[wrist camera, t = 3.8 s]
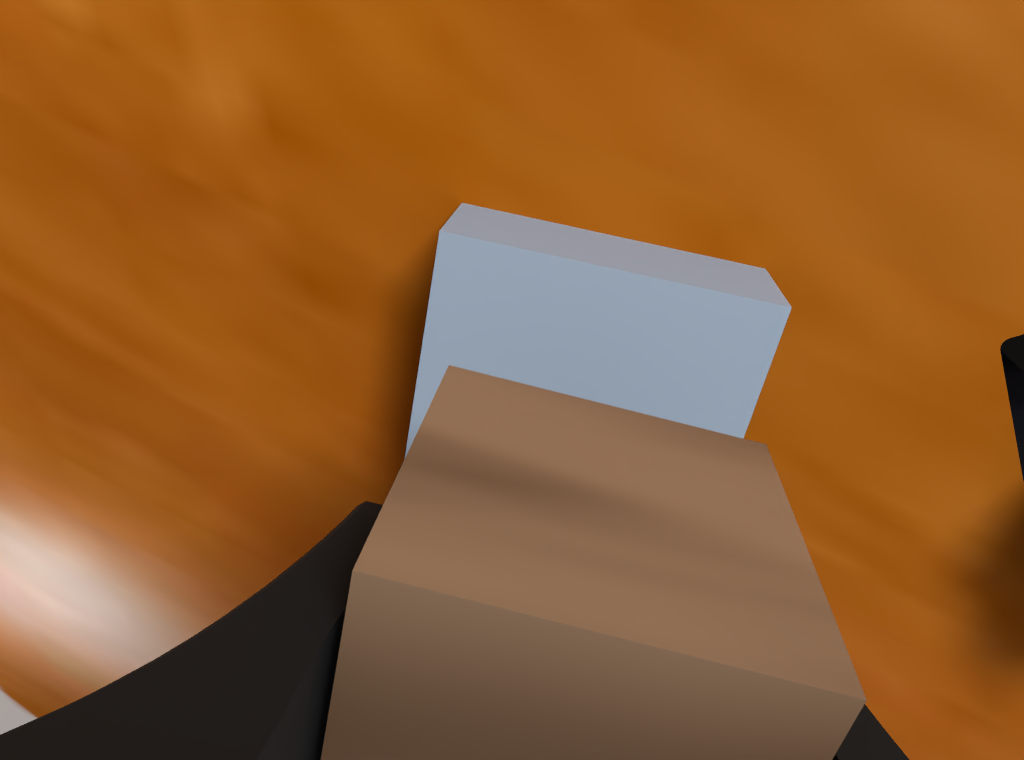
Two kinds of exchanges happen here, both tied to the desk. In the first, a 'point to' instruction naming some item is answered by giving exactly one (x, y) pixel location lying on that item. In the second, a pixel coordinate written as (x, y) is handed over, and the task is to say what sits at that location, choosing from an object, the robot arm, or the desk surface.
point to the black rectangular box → (1015, 386)
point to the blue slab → (599, 320)
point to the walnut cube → (584, 595)
